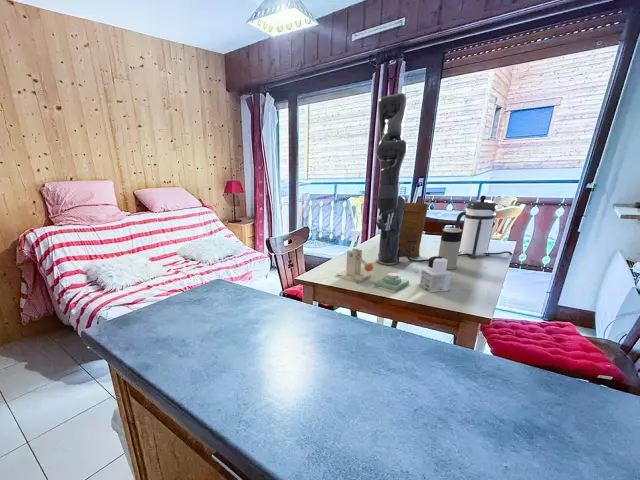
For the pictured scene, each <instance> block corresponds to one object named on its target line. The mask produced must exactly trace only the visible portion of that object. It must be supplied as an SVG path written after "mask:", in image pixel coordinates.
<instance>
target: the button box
mask: <svg viewBox="0 0 640 480" xmlns="http://www.w3.org/2000/svg"><path fill="white" fill-rule="evenodd" d="M387 276H388V274H384V276H383V278H381V279H379V280H377V281H375V282H374V286H378V287H381V288H385V289H388V290H391V291H397V290H399V289H400V288H402V287H404V286H406V285H408V284H409V283H410V280H409V279H405V278H402V276H400V275H398V279H388V278H387Z"/></svg>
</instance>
